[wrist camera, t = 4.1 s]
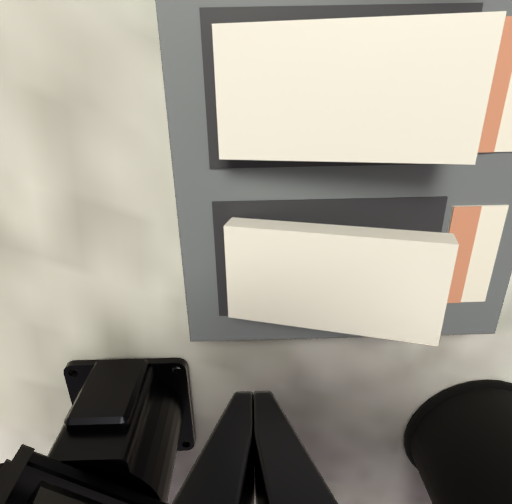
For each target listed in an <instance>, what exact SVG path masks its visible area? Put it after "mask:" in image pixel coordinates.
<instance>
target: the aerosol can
mask: <svg viewBox="0 0 512 504" xmlns="http://www.w3.org/2000/svg"><path fill="white" fill-rule="evenodd" d="M405 449H406V453H407V456H408V458H409V459H410V461H411V463H412V464H413V465H414V466H415V467H416V468H417V469H418V471H419V473H420V475H421V478H422V480H423V482H424V485H425V487H426V489H427V492H428V494H429V496H430V499H431V501H432V503H433V504H512V383H508V382H504V381H498V380H481V381H471V382H467V383H463V384H459V385H456V386H454V387H451V388H449V389H446V390H444V391H442V392H440V393H439V394H437V395H435V396H434V397H432V398H431V399H430V400H428V401H427V402H426V403H425V404H423V405H422V406H421V407H420V408H419V410H418V411H417V412H416V413H415V414H414V415H413V417H412V419H411V420H410V422H409V424H408V426H407V429H406V433H405Z"/></svg>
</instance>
